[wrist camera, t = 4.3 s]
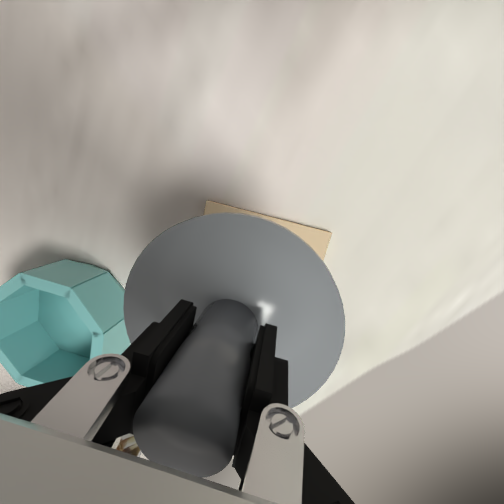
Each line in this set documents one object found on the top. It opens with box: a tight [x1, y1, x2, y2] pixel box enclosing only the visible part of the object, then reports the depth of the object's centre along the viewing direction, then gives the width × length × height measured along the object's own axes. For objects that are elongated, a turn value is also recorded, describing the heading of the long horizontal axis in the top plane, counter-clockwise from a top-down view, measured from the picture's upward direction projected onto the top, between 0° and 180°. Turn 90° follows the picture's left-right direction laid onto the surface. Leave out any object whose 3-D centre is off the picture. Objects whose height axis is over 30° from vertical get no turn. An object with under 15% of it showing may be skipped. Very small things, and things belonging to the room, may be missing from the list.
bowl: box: [0, 259, 130, 387], centre depth 25 cm, size 11×11×5 cm
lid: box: [123, 212, 345, 478], centre depth 11 cm, size 11×11×7 cm
